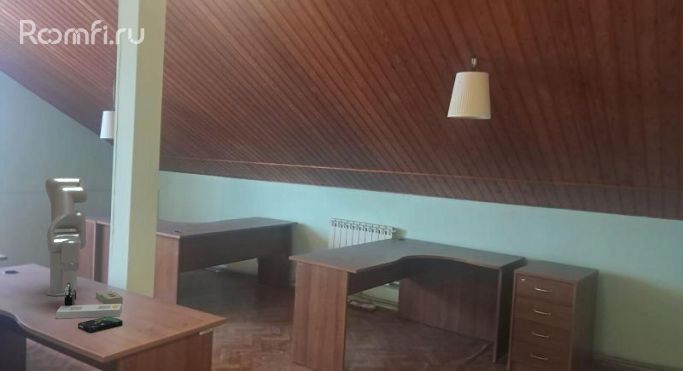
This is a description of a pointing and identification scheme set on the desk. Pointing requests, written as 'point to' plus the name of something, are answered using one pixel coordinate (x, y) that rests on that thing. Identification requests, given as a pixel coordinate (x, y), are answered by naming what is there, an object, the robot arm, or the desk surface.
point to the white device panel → (89, 311)
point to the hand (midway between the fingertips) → (70, 302)
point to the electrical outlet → (109, 297)
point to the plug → (73, 298)
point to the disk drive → (100, 324)
